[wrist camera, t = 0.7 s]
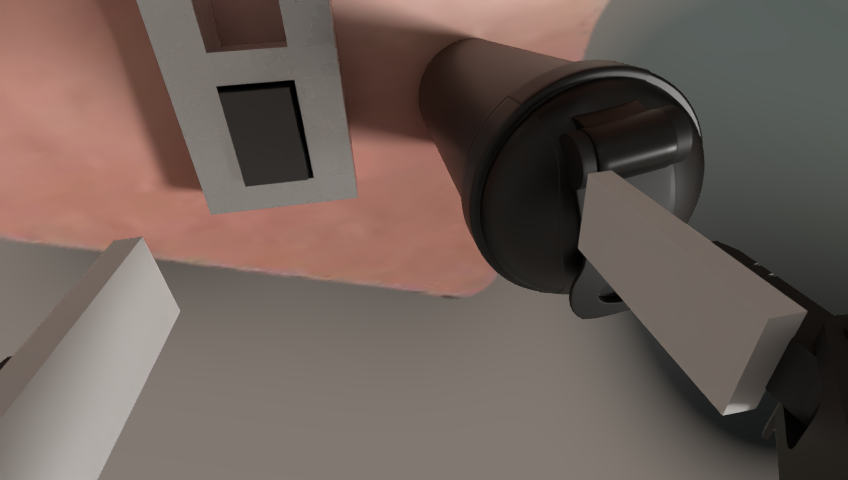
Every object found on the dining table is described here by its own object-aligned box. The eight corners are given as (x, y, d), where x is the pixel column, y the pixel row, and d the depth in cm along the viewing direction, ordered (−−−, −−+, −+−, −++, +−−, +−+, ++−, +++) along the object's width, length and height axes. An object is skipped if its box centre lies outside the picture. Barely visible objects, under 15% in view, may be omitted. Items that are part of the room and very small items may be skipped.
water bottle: (423, 169, 37) (510, 369, 18) (394, 44, 32) (473, 133, 12) (534, 139, 37) (742, 303, 18) (524, 10, 32) (805, 44, 13)
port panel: (123, -117, 25) (79, -139, 21) (313, -123, 26) (307, -145, 22) (223, 192, 35) (207, 220, 31) (356, 178, 37) (358, 203, 32)
